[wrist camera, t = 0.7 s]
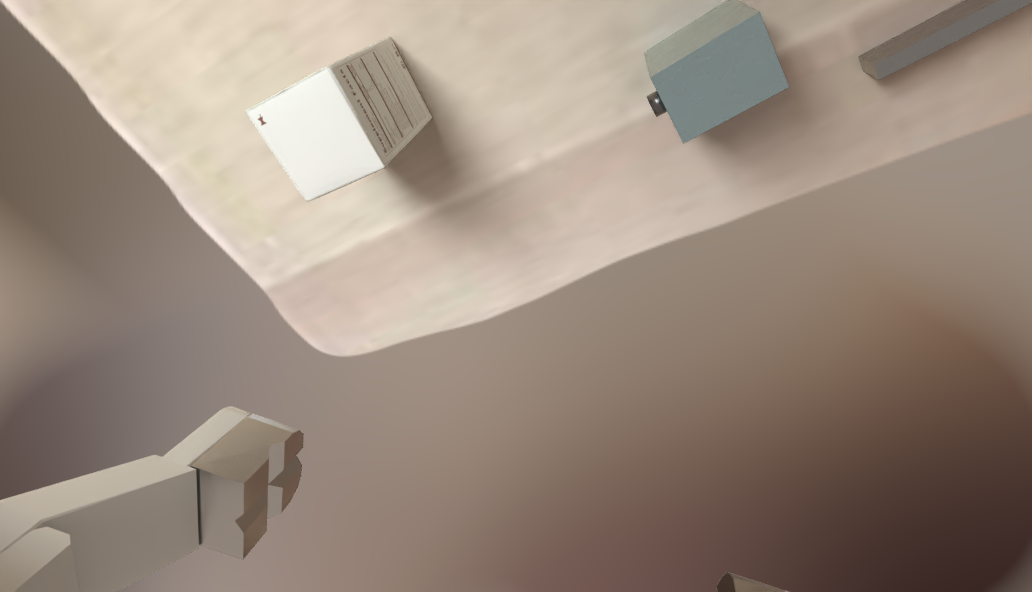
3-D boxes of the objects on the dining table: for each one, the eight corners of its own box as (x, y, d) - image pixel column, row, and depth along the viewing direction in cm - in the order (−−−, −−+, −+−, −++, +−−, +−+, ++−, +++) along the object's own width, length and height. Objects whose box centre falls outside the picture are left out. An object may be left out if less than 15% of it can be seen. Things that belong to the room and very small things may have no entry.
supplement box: (367, 149, 51) (303, 205, 40) (321, 70, 48) (239, 109, 37) (436, 119, 48) (386, 170, 38) (393, 33, 45) (326, 63, 35)
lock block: (661, 114, 45) (671, 150, 38) (633, 58, 43) (637, 85, 36) (758, 59, 42) (789, 87, 35) (732, -3, 40) (759, 11, 33)
